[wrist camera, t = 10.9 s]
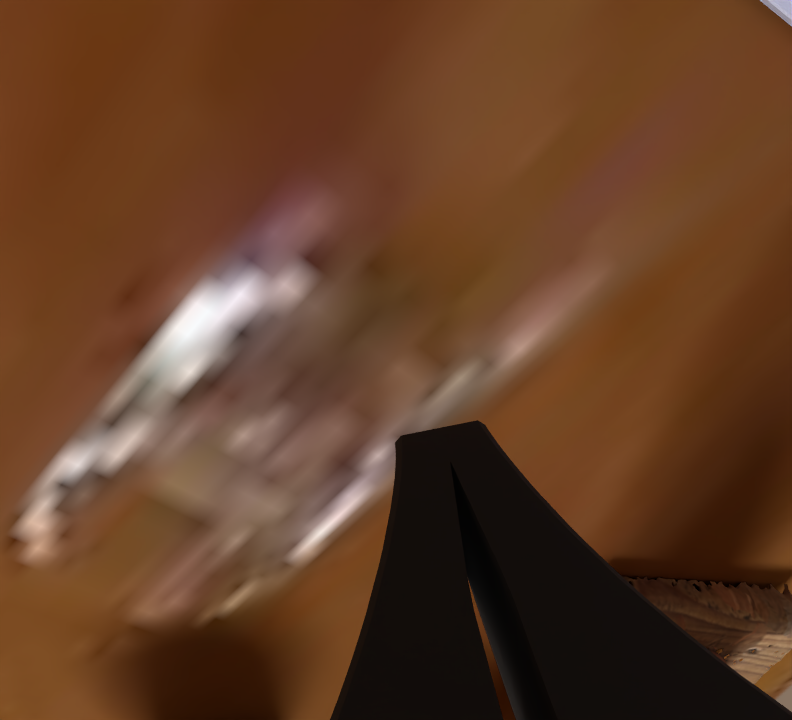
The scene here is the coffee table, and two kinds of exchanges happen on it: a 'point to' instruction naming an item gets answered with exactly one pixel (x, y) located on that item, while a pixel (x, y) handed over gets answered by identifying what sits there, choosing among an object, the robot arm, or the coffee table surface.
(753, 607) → the bird sculpture
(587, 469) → the coffee table surface
